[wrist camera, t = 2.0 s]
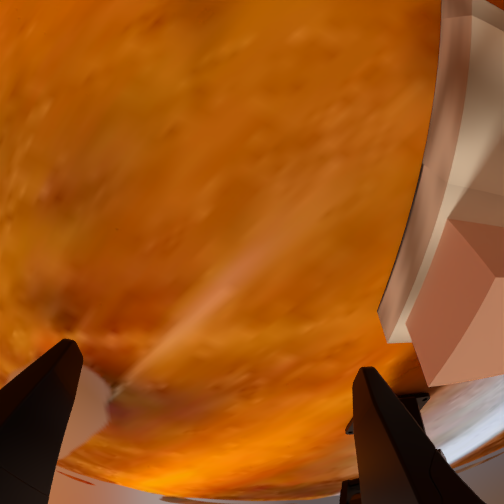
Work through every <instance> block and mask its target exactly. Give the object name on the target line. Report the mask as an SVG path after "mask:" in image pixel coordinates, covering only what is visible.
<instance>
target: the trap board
mask: <svg viewBox="0 0 504 504" xmlns="http://www.w3.org/2000/svg"><path fill="white" fill-rule="evenodd" d="M447 219H453V220H460V221H467V222H474V223H480V224H487V225H493V226H499V227H504V11H503V10H502V9H500V8H498V7H496V6H495V5H493V4H491V3H489V2H487V1H485V0H442V9H441V34H440V48H439V60H438V70H437V79H436V87H435V94H434V101H433V108H432V114H431V120H430V126H429V132H428V137H427V142H426V147H425V152H424V157H423V162H422V166H421V171H420V175H419V179H418V183H417V187H416V191H415V195H414V199H413V203H412V207H411V210H410V214H409V218H408V221H407V225H406V228H405V231H404V235H403V238H402V241H401V245H400V248H399V251H398V254H397V257H396V260H395V263H394V266H393V269H392V272H391V275H390V278H389V281H388V283H387V286H386V289H385V292H384V294H383V297H382V300H381V303H380V305H379V308H378V310H377V313H378V316H379V319H380V322H381V325H382V328H383V331H384V334H385V337H386V340H387V343H406V342H412V340H411V337H410V335H409V332H408V330H407V327H406V324H405V323H406V321H407V318H408V316H409V314H410V312H411V310H412V308H413V305H414V303H415V301H416V299H417V296H418V294H419V292H420V289H421V287H422V285H423V282H424V280H425V277H426V275H427V273H428V270H429V268H430V265H431V262H432V260H433V257H434V254H435V252H436V249H437V246H438V244H439V241H440V238H441V235H442V232H443V229H444V226H445V223H446V220H447Z"/></svg>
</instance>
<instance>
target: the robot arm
mask: <svg viewBox="0 0 504 504" xmlns="http://www.w3.org/2000/svg"><path fill="white" fill-rule="evenodd" d="M82 365H83V356H82V353H81V351H80V349H79V347H78V345H77V343H76V342H75V341H74V340H70V339H62V340H61V341H60V342H58V343H57V344H56V345H55V346H53V347H52V348H51V349H50V350H48V351H47V352H46V353H45V354H43V355H42V356H41V357H40V358H38V359H37V360H36V361H35V362H33V363H32V364H31V365H30V366H28V367H27V368H26V369H25V370H23V371H22V372H21V373H20V374H19V375H17V376H16V377H15V378H14V379H12V380H11V381H10V382H9V383H8V384H6V385H5V386H4V387H3V388H2V389H0V504H48V500H49V494H50V489H51V485H52V481H53V476H54V472H55V468H56V464H57V460H58V456H59V452H60V448H61V444H62V441H63V437H64V433H65V430H66V426H67V423H68V420H69V417H70V413H71V410H72V407H73V404H74V400H75V395H76V391H77V387H78V382H79V377H80V373H81V369H82ZM352 391H353V419H352V420H351V422H350V423H349V425H348V426H347V428H346V429H345V432H346V434H354V439H355V447H356V455H357V463H358V472H359V478H357V479H353V480H345V481H343V482H342V489H341V493H340V504H486V503H485V502H484V501H482V500H481V499H480V498H479V497H478V496H477V495H476V494H475V493H474V492H473V491H472V489H471V488H470V487H468V485H467V484H466V483H465V482H464V481H463V480H462V479H461V478H460V477H459V476H458V474H457V473H456V472H455V471H454V470H453V469H452V468H451V467H450V465H449V464H448V463H447V461H446V458H445V456H444V454H443V452H442V451H441V449H438V450H437V449H435V446H434V444H433V443H432V442H431V440H430V439H429V438H428V436H427V435H426V432H425V428H424V424H423V420H422V416H421V413H420V410H421V408H422V407H423V406H424V405H425V404H426V403H427V401H428V400H429V399H430V396H429V393H421V394H413V395H404V396H396V394H395V393H394V392H393V391H392V389H391V388H390V387H389V385H388V384H387V383H386V382H385V380H384V379H383V378H382V376H381V375H380V374H379V373H378V371H377V370H376V369H375V368H374V367H361V368H360V369H359V371H358V373H357V375H356V377H355V379H354V382H353V387H352Z"/></svg>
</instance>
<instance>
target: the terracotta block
mask: <svg viewBox="0 0 504 504" xmlns="http://www.w3.org/2000/svg"><path fill="white" fill-rule="evenodd" d="M405 324H406V327H407V330H408V332H409V335H410V337H411V340H412V343H413V345H414V348H415V351H416V354H417V356H418V359H419V362H420V365H421V368H422V371H423V373H424V376H425V379H426V382H427V385H428V387H433V386H441V385H448V384H454V383H460V382H466V381H472V380H477V379H483V378H488V377H493V376H497V375H502V374H504V227H499V226H493V225H487V224H480V223H474V222H467V221H460V220H453V219H447V220H446V223H445V226H444V229H443V232H442V235H441V238H440V241H439V244H438V246H437V249H436V252H435V254H434V257H433V260H432V262H431V265H430V268H429V270H428V273H427V275H426V277H425V280H424V282H423V285H422V287H421V289H420V292H419V294H418V296H417V299H416V301H415V303H414V305H413V308H412V310H411V312H410V314H409V316H408V318H407V321H406V323H405Z"/></svg>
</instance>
